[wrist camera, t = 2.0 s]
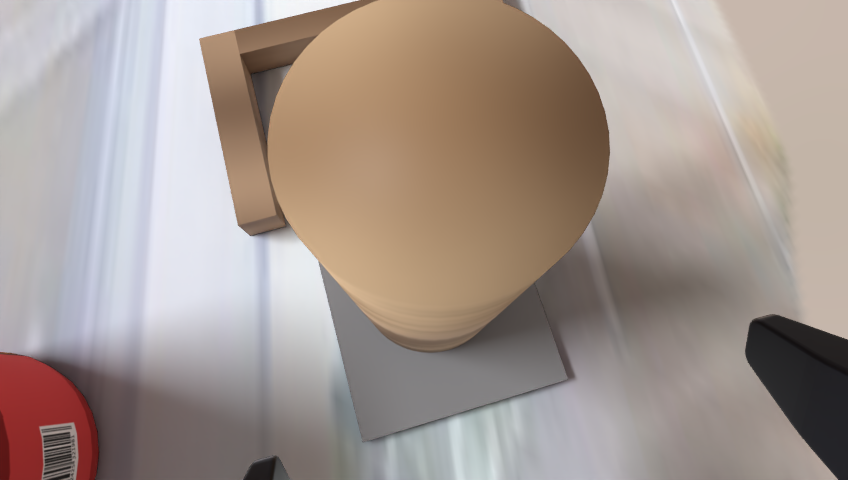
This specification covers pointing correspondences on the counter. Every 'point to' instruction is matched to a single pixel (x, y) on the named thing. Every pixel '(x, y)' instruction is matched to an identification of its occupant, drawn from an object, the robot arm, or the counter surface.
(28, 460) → the canned food
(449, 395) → the slate mat
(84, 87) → the counter surface
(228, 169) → the walnut frame
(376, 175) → the pepper mill
